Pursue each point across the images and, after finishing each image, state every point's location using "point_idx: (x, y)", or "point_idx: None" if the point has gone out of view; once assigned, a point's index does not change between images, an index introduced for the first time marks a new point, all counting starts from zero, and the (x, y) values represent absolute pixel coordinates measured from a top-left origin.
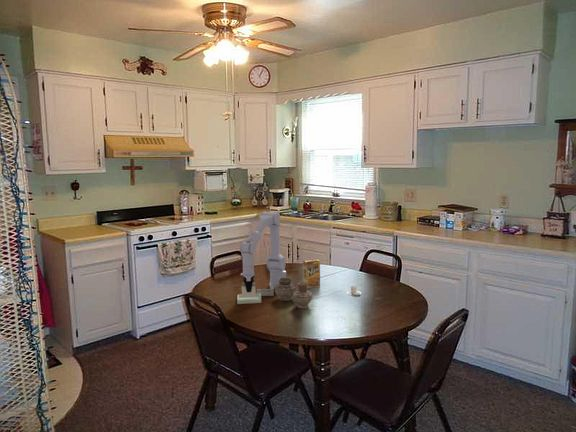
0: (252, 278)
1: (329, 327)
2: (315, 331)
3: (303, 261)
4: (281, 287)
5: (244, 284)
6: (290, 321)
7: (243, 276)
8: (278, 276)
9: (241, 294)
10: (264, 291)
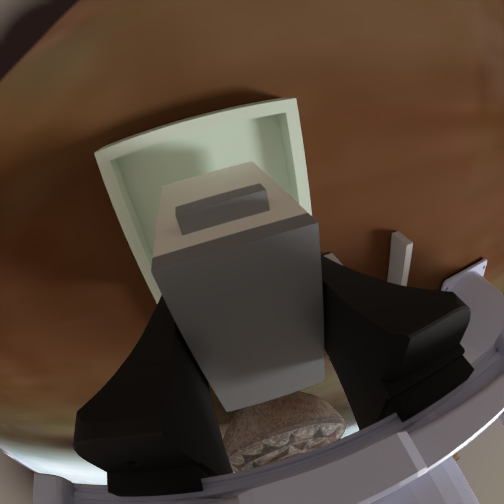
0: (353, 407)
1: (66, 471)
2: (28, 455)
3: (456, 456)
4: (246, 467)
5: (219, 303)
6: (35, 430)
7: (425, 330)
8: (469, 351)
9: (299, 139)
10: (391, 282)
